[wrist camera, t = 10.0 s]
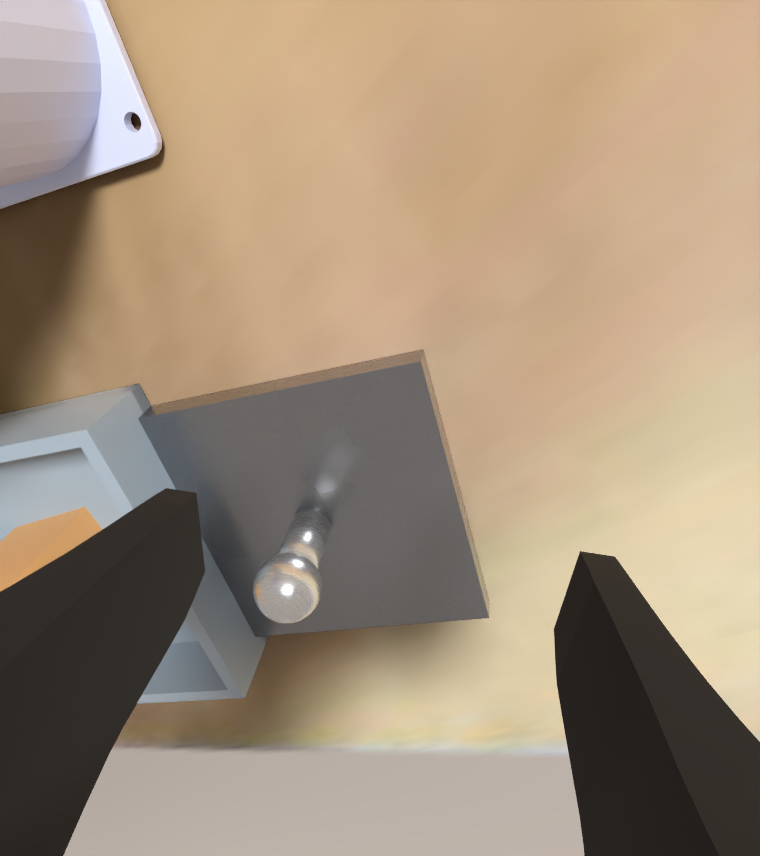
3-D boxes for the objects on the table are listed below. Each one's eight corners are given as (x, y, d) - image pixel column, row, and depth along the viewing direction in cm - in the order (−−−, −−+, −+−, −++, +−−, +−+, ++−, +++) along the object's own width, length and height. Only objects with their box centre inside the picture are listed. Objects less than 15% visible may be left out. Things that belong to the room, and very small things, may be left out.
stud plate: (129, 410, 23) (37, 495, 18) (423, 349, 20) (405, 432, 15) (243, 621, 28) (196, 730, 24) (488, 599, 25) (491, 719, 20)
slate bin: (-126, 442, 26) (-205, 488, 23) (139, 383, 22) (86, 429, 19) (42, 653, 32) (-2, 710, 29) (269, 634, 29) (245, 698, 26)
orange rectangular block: (15, 527, 26) (-120, 655, 20) (84, 506, 25) (-38, 637, 19) (71, 592, 28) (-38, 727, 22) (138, 575, 27) (41, 715, 21)
